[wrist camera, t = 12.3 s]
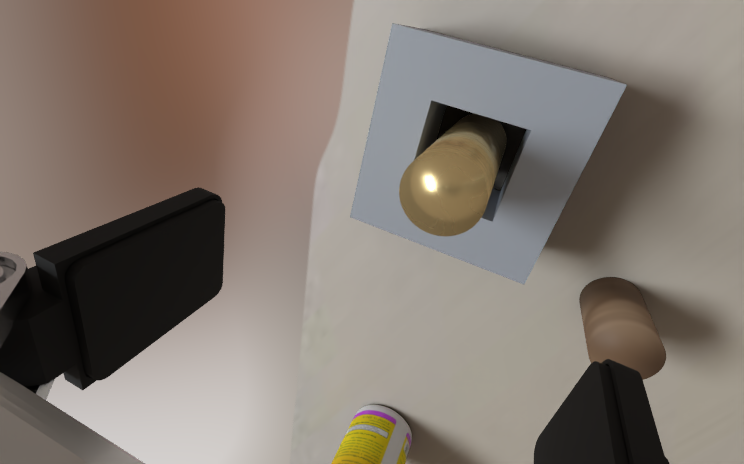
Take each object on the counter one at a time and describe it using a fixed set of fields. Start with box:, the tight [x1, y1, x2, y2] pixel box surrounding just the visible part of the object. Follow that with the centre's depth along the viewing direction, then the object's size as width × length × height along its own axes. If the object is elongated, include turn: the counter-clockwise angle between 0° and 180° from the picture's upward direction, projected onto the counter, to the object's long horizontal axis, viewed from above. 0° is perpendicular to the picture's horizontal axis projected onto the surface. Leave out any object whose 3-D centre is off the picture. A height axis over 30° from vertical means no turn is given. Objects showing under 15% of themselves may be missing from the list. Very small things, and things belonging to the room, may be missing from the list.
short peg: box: [580, 277, 666, 380], centre depth 26 cm, size 4×4×6 cm
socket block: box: [350, 23, 627, 284], centre depth 25 cm, size 12×12×6 cm
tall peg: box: [399, 114, 507, 236], centre depth 23 cm, size 4×4×12 cm
